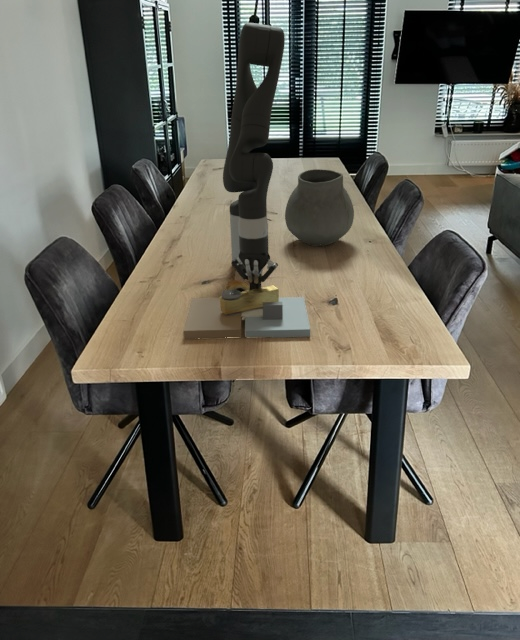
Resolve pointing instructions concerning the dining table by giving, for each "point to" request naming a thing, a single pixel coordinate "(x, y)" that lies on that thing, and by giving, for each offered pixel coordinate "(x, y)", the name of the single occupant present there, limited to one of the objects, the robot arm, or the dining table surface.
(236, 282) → the pastry
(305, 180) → the ceramic pot
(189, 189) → the dining table surface
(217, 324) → the door mock-up
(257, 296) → the swing bar
